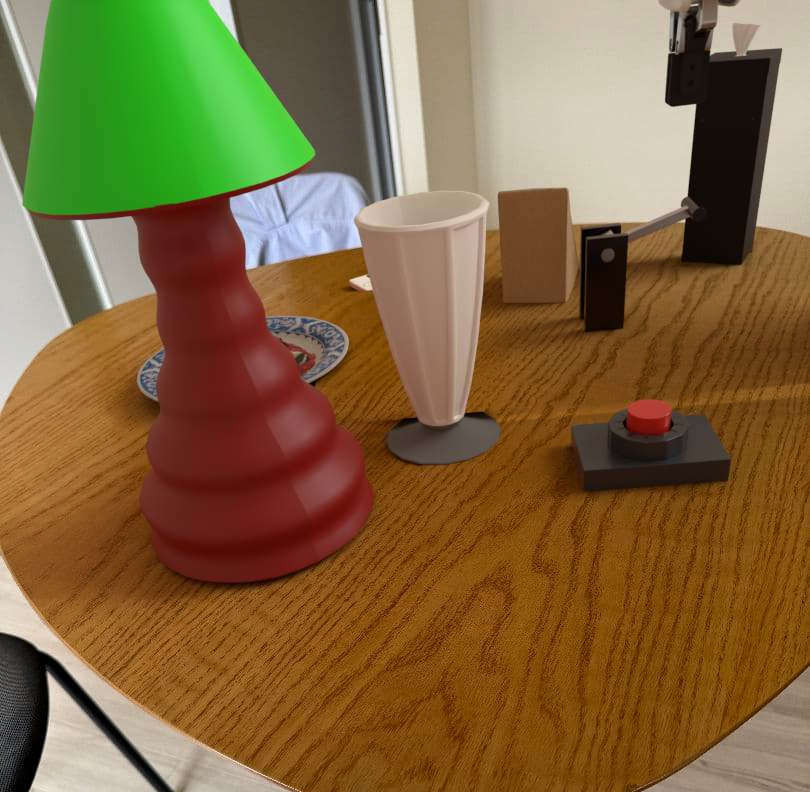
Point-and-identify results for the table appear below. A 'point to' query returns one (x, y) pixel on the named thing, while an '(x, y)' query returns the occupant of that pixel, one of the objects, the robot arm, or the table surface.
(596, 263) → the bracket
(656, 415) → the button
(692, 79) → the robot arm
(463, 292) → the cup
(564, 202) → the sandwich container
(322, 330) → the ceramic plate
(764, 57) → the tall black pillar
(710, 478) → the control block
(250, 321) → the table lamp
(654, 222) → the lever
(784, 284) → the table surface
